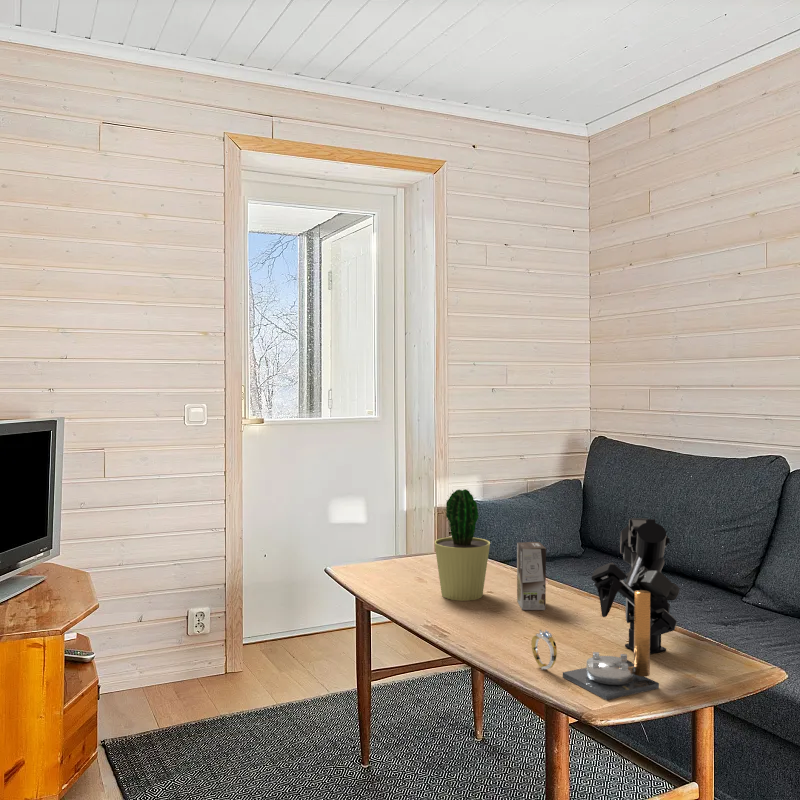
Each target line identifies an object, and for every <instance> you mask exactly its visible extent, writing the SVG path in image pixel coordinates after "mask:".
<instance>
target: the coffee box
mask: <svg viewBox="0 0 800 800" xmlns="http://www.w3.org/2000/svg"><path fill="white" fill-rule="evenodd" d="M546 571H547V548H546V546H544V545H543V544H542V543H541V542H540V541H529V542H528V541H525V542H516V600H517V603H518V605H519V607H520V608H521V610H522V611H546V599H547V598H546V595H547V594H546V591H547V588H546V587H547V586H546V584H547V582H546V581H547V580H546V579H547V578H546V577H547V575H546V574H547V572H546Z"/></svg>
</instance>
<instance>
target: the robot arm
mask: <svg viewBox="0 0 800 800" xmlns="http://www.w3.org/2000/svg"><path fill="white" fill-rule="evenodd" d="M670 541H671V540H670V537H669V536H668V535H667V530H666V529H665V527H663V526H662V525H661V524H658V523H656V519H652V518H649V519H648V518H638V517H637V518H635V517H632V518H629V520H628V525H626V526H625V527H624V528H623V529H622V530H621V531H620V542H619V543H620V544H619V550H620V551H619V552H620V554H622V556H623V557H622V559H623V561H624V562H625V563H627V564H629V565H630V566H631V568H630V571H628V572H626V573H625V572H624V571H623V570H621V568H620V567H618V566H617V565H616V564H615V562H608V563H606V564H604V565H602V566H600V567H596V569H595V570H594V571H593V572H592V575H591V580H592V581H593V582H594V586H595V588H596V590H597V593H598V597H599V603H600V610H601V617H603V618H606V617H607V616H608V615H609V613H610V611H611V609H612V606H613V604H614V601H615V598H616V595H617V593H620V595H621V596H622V597H623V598H625V621H626V624H629V628H628V643H625V644H624V648H627V649H630V650H631V651H634V591H636V590H645V591H649V592H650V655H651V654H652V655H653V654H657V653H661V652H666V651H667V648H666V647H664V646H662V635H664V634H667V633H671V632H674V631H675V629H676V627H677V623H678V622H677V619H676V618H675V617H673V616H672V615H671V613H670V610H671V609H670V607H671V604H670V602H669V601H675V600H676V599H677V598H678V596H679V594H680V589H681V588H680V587H679V586H678V585H677V584H676V583H674V582H672V581H671V580H670V579H669V578H667V576H666V575H664V574H663V573H662V569H663V567H664V565H665V558H664V555H665V549H666V548H667V546H668V545H669V544H670V543H671V542H670ZM625 579H626V581H625Z"/></svg>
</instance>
